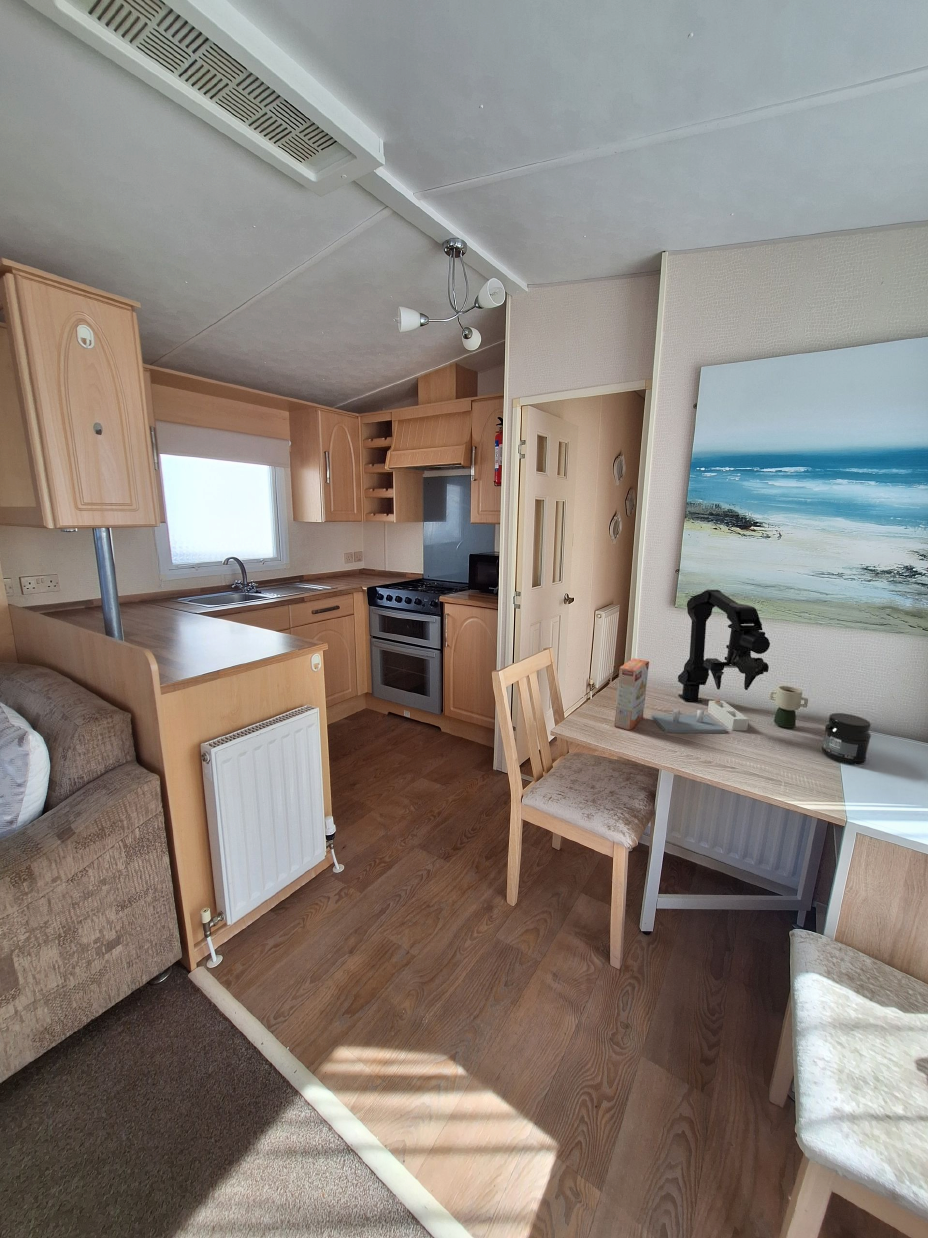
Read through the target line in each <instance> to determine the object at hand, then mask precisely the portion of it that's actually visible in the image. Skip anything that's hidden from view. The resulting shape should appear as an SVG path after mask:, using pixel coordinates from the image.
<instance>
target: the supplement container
mask: <svg viewBox="0 0 928 1238" xmlns="http://www.w3.org/2000/svg"><path fill="white" fill-rule="evenodd" d="M871 725H872V724H871V722H870V721H869V720H867V719H866V718H863V717H861V716H858V715H853V714H849V713H843V712H841V713H840V712H835V713H831V714H830V715H829V716H828V723H826V724H825V726H824V728H825V730H824V736H823V742H822V745H821V752H822V753H823V754H824V755H825V757H827V758H829V759H831V760H832V761H835V762H838V763H841V764H845V763H846V764H847V765H853V764H857V765H863V764H864V763H865V762H866V761H867V756H868V749H869V745H870V740H871V738H872V735H871V733H870V730H871Z"/></svg>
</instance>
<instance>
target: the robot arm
mask: <svg viewBox="0 0 928 1238" xmlns="http://www.w3.org/2000/svg"><path fill="white" fill-rule="evenodd" d="M715 607H716V608H717V609H719V610H721V611H722V612H724V613H725V614H726V618H727V620H728V621H729V622H730V624H728V625H727V628H729V629H730V634H729V641H728V644H726V646H725V648H726V649H727V656H724V660H725V661H722V660H720V659H718V658H711V657H707V658H705V649H706V648H705V646H706V634H707V633H706V632H707V630H706V629H707V621H708V620H709V618H710V617H712V613H713V609H714V608H715ZM686 609H687V611H686V612H687V615H688V616H689V618H690V620H691V624H690V625H691V626H690V627H691V628H690V629H691V630H690V644H689V658H688V659H687V661H686V662H685V663H684V665H683V670H682V672H681V673H680V674H679V675H678V676H677V682H678V683H679V684H681V685H682V692H681V693H680V694H678V695H677V696H678V697H679V698H680V699H681V700H683V701H684V702H703V701H702V700H703V699H701V698H700V696H699V695H700V694H699V693H700V687H701V686H706V685H707V681H708V680H709V676H710V673H711V675H712V678H713V681H714V684H715V687H716V689H717V690H718V691H719V690H721V685H722V679H723V678H722V677H723V675H724V673H725V672H723V671H724V670H725V669H727V668H732V669H733V668H734V669H735V668H737V670H738V672H739V673H740V674H744V681H743V685H744V687H743V688H744V690H745V691H748V690H749V688H750V687H751V685H752V683H753V681H755V679H756V678H757V677H758V676H761V675H764V674H765V673H768V672H769V669H770V666H769V664H768V663H767V662H765V661H764V659H763V658H762V657H752V652H753V653H755V654H758V655H762V654H764V653H766V652H767V651H768V650H769V649H770V646H771V643H770V639H769V638H768V637H767V636H766V632H765V631H763V624H762V622H761V619H760V616H759V613H758V610H757V609H756V607H755V606H752V605H749V604H742V603H739V602H736V600H734V599H732V598H730V597H729V596H728V595H726V594H724V593H723V592H722V591H721V590H719V589H705V590H704V591H702V592H701V593H698V594H695V595H694V596H692V597H689V599H688V600H687V601H686Z"/></svg>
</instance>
